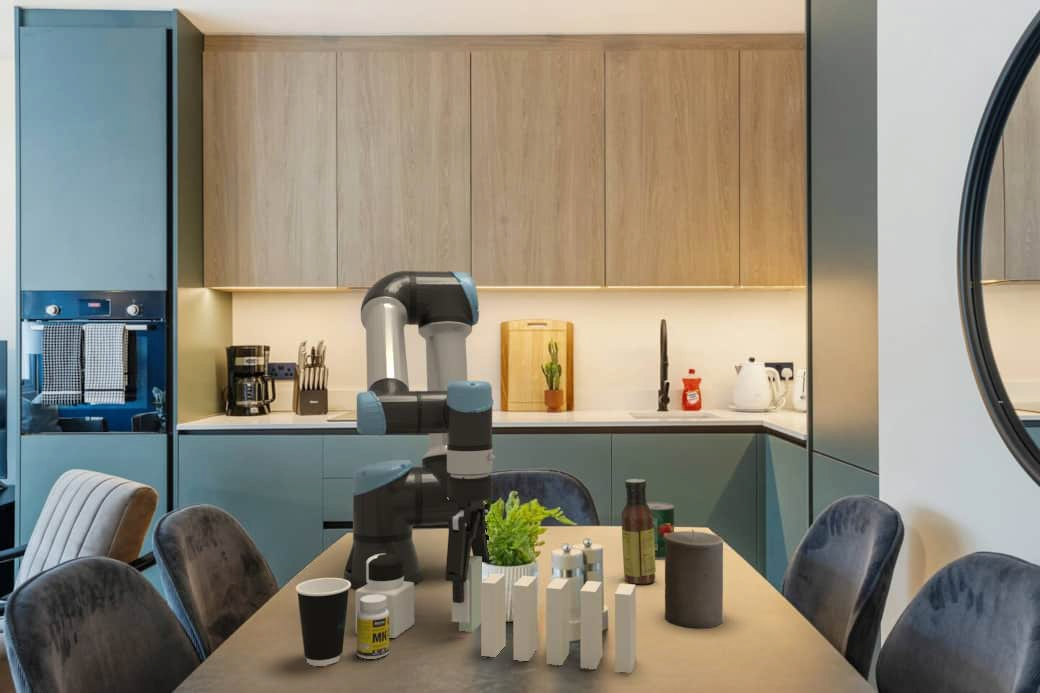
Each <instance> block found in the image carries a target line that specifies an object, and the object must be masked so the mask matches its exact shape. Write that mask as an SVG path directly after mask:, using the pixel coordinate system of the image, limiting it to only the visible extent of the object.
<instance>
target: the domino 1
mask: <svg viewBox="0 0 1040 693" xmlns="http://www.w3.org/2000/svg"><path fill="white" fill-rule="evenodd" d="M506 616H507V611H506V574H504V573H493V572H492V573H490V574H488V577H487V578H486V579H484V580H483V581H482V582H481V624H480V633H481V635H480V642H481V643H480V646H481V647H480V651H481V652H480V653H481V656H490V657H496V656H497V655H498V654H499V653H500V654H501V652H502V651H503V650H504V649H505V648H506V647H505V646H507V644H506V643H507V642H506V641H507V637H506V636H507V635H506V629H507V628H506V627H507V626H506V625H507V623H506V622H507V620H506ZM504 647H505V648H504ZM503 648H504V649H503ZM502 649H503V650H502ZM501 650H502V651H501ZM500 651H501V652H500ZM500 654H499V655H500ZM499 655H498V656H499ZM481 656H480V657H481ZM498 656H497V657H498ZM497 657H496V658H497Z"/></svg>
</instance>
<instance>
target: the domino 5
mask: <svg viewBox="0 0 1040 693" xmlns="http://www.w3.org/2000/svg"><path fill="white" fill-rule="evenodd" d="M636 585H637V584H632V583H619V586H618V587H617V589H616V591H615V593H614V639H615V640H614V642H615V644H614V645H615V646H614V648H615V649H614V652H615V653H614V660H615V661H614V664H615V665H614V666H615V667H614V668H615V671H619V672H618V673H620V672H629V673H631V672H633V670H634V667H635V665H634V664H636V662H637V621H636V620H637V613H636V612H637V609H636V607H637V604H636V603H637V602H636V601H637V598H636V591H637V590H636ZM635 661H636V662H635ZM633 666H634V667H633ZM632 669H633V670H632ZM629 673H628V674H629ZM631 674H632V673H631Z"/></svg>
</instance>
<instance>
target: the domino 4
mask: <svg viewBox="0 0 1040 693" xmlns="http://www.w3.org/2000/svg"><path fill="white" fill-rule="evenodd" d="M579 596H580V597H579V604H580V606H579V607H580V609H579V611H580V612H579V613H580V614H579V615H580V616H579V617H580V621H579V622H580V623H579V626H580V628H579V629H580V630H579V631H580V633H579V635H580V641H579V642H580V669H584V668H585V669H586V670H593V669H596V670H597V668H598V666H599V664H600V663H601V660H602V658H603V581H594V580H593V581H592V580H586V582H585V583H584V584H583V586H582V587H581V589H580V590H579ZM600 659H601V660H600ZM587 668H588V669H587ZM585 669H584V670H585Z"/></svg>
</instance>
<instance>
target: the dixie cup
mask: <svg viewBox="0 0 1040 693" xmlns="http://www.w3.org/2000/svg"><path fill="white" fill-rule="evenodd" d="M350 588H351V583H350V582H349V581H348V580H345V579H344V578H340V577H339V578H338V577H321V578H320V577H319V578H314V579H309V580H306V581H302V582H300V583H298V584H297V585H296V586H295V592H296V593H297V600H298V608H299V615H300V616H299V617H300V627H301V635H302V643H303V644H302V645H303V653H304V657H305V658H306V663H309V664H311V665H326V664H331V663H334V662H336V661H338V660H339V659H340V660H341V656H342V653H343V651H344V650H343V649H344V639H345V630H346V621H347V610H348V601H349V591H350Z"/></svg>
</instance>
